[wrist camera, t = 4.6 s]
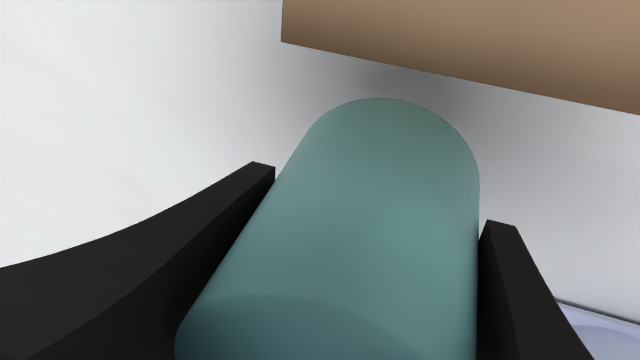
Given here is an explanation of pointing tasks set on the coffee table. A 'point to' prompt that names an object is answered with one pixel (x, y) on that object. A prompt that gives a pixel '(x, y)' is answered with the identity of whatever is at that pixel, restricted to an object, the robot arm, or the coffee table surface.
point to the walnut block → (488, 42)
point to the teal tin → (353, 249)
